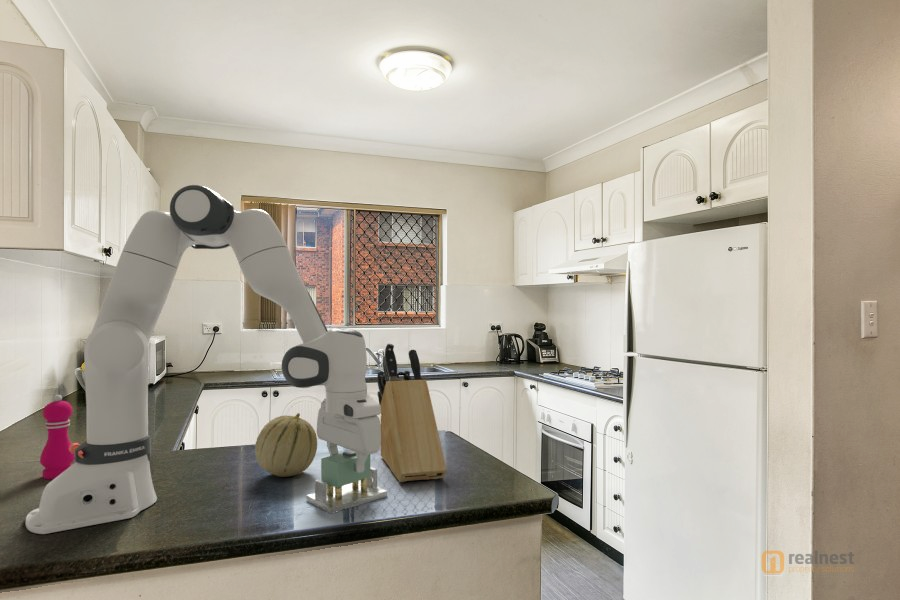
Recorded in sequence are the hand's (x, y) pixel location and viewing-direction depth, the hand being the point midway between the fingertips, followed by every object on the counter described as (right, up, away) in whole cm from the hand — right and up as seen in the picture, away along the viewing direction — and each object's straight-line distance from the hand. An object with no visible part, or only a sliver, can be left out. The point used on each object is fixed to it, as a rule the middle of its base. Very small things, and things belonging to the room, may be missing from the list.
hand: (346, 466), depth 117 cm
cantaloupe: (-18, -7, +16) cm, 25 cm away
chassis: (0, -7, 0) cm, 7 cm away
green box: (0, -3, 0) cm, 3 cm away
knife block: (+11, -7, +25) cm, 28 cm away
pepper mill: (-75, -8, +17) cm, 77 cm away
